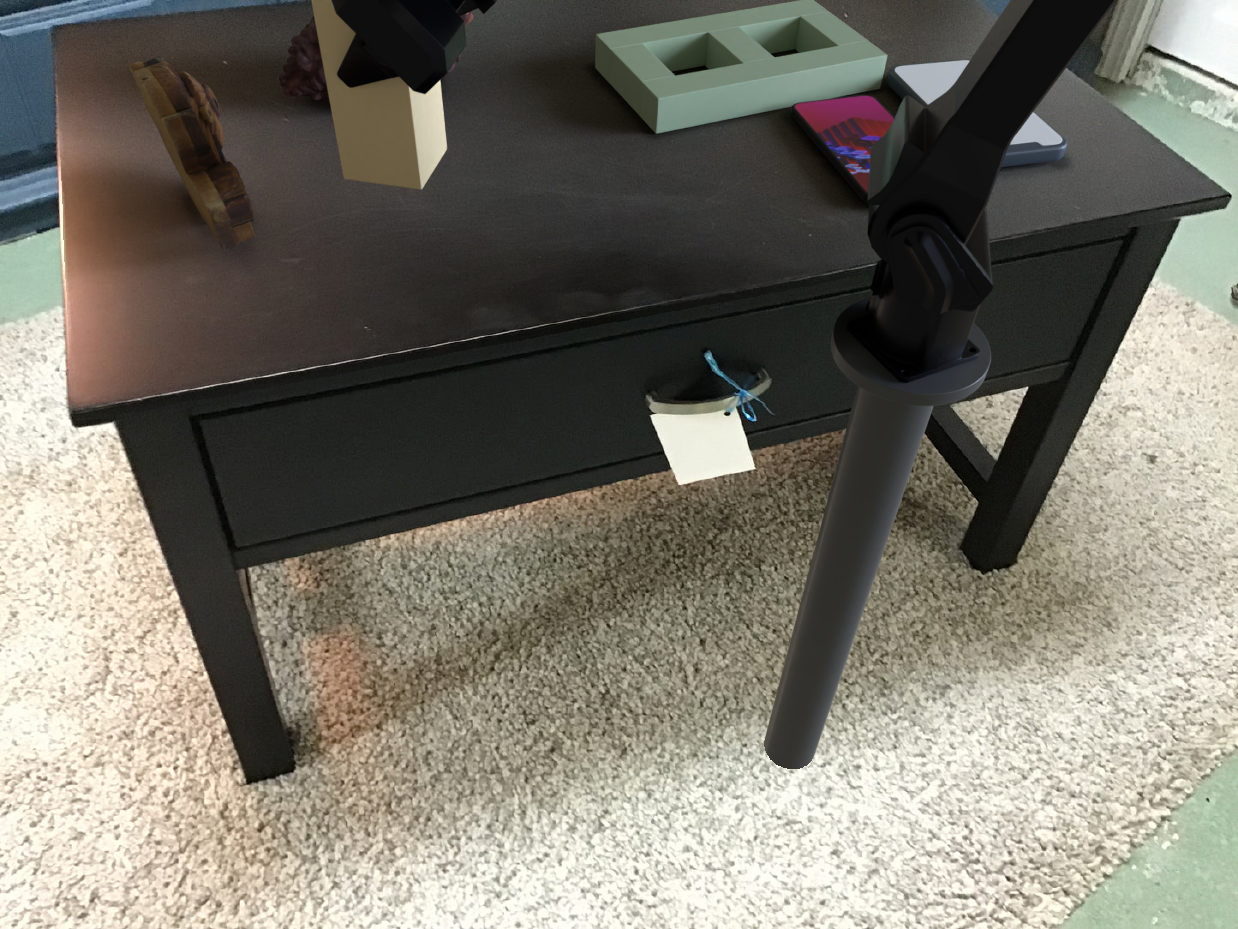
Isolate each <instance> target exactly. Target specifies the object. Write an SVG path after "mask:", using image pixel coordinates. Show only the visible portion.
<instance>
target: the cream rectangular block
mask: <svg viewBox="0 0 1238 929" xmlns="http://www.w3.org/2000/svg"><path fill="white" fill-rule="evenodd" d="M311 7H312V11H313V12H312V13H313V16H314V18H315V23H316V29H317V34H318V40H319V45H320V51H321V56H322V61H323V67H324V72H325V78H326V83H327V89H328V94H329V100H330V102H329V104H330V111H331V115H332V122H333V127H334V132H335V137H336V143H337V148H338V149H337V150H338V155H339V160H340V166H341V171H342V176H343V177H342V178H343V179H344V180H346V181H347V180H348V181H354V182H355V181H356V182H362V183H368V184H369V183H371V184H377V185H382V186H383V185H384V186H391V187H398V188H404V189H413V190H419V191H421V190H423V189H424V187H425V185H426V184H427V182H428V180H429V179H430V178H431V175H433V173H434V171H435V169H436V168H437V166H438V165H439V163H440V161H441V160H442V158H443V157H444V155H445V153H446V152H447V150H448V144H447V134H446V123H445V122H446V121H445V114H444V105H443V103H444V102H443V93H442V83H441V81H439V82H438V83H437V84H436V85H435V86H434V87H432V88H431V89H430V90H429V91H428V92H427V93H426V94H422V93H418V92H414V91H413V90H412V89H411V88H410V87H409V86H408V85H407V84H406V83H405V82H404V81H403V80H402V79H401V78H400V77H396V78H391V79H387V80H383V81H378V82H374V83H370V84H366V85H362V86H358V87H354V88H349V87H348V86H347V85H346V84H344V83H343V82H342V81H341V80H340V79H339V78H338V76H337V71H338V69H339V67H340V65H341V63H342V61H343V59H344V57H345V55H346V53H347V51H348V48H349V46H350V44H351V42H352V40H353V38H354V36H355V34H356V33H355V32H354V31H353V30H352V29H351V28H350V27H349V26H348V25H347V24H346V23H345V22H344V21H343V20H342V19H341V18H340V17H339V16H338V15H337V14H336V13H335V10H334V7H333V4H332V1H331V0H311Z"/></svg>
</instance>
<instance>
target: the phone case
mask: <svg viewBox="0 0 1238 929" xmlns="http://www.w3.org/2000/svg"><path fill="white" fill-rule="evenodd" d="M970 60H971V59H965V58H962V59H951V60H939V61H929V62H918V63H907V64H898V65H893V66H892V67H890V69H888V75H887V79H886V83H887V86H888V87H889V88H890V89H891V90H892V91H893V92H894V93H895V95H897V96H898V97H899V98H900V99H901V100H902V101H903V99H904V97H905V96H910V97H912V98H913V99H914V100H916V101H917V102H918V103H920V104H921V105H923V106H924V107H926V106H927V105H928V104H930V103H931V102H933V101H934V100H936V99H937V98H938V97H940V96H941V95H943V94H944V93H945V92H947V91H948V90H949V89H950V88H951V87H952V86H953V84H954V83H955V82H956V81H957V79H958V78H959V76H960V75H961V73H962V72H963V70H964V69H965V67H966V66H967V64H968V63H969V61H970ZM1067 147H1068V141H1067V139H1066V138H1065V137H1064V136H1063V135H1062V134H1061V133H1059V132H1058V130H1056V129H1055V128H1054V127H1052V126H1051V125H1050V124H1049V123H1048V122H1047V121H1046V120H1045V119H1043V118H1042V117H1041V116H1040V115H1039V114H1038V113H1036V112H1035V111H1034V112H1033V113H1032V114H1031V116H1030V117H1029V118H1028V120H1027V121H1026V122H1025V123H1024V125H1023V126H1022V127H1021V129H1020V130H1019V131H1018V133H1017V134H1016V135H1015V137H1014V138H1013V140H1012V141H1011V143H1010V145H1009V147H1008V150H1007V152H1006V155H1005V157H1004V160H1003V163H1002V166H1001V168H1006V167H1007V168H1008V167H1017V166H1022V165H1024V166H1025V165H1033V164H1041V163H1050V162H1056V161H1059V160H1061V159H1063V157H1064V155H1065V152H1066V149H1067Z"/></svg>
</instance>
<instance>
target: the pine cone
mask: <svg viewBox="0 0 1238 929" xmlns="http://www.w3.org/2000/svg"><path fill="white" fill-rule="evenodd" d="M460 17H461V18H462V19H463V20H464V21H465V27H466V26H467V25H469V24H470V23H471V22H472V21H473V20H474V17H475V15H473V11H471V12H468V13H466V14H464V15H461V16H460ZM290 43H291V45H290V46H289V48H288V49H287V52H288V54H289V56H288V57H286V60H285V61H286V63H284V64H283V66H282V71H280V72H279V74H278V81H279V82H278V85H279V87H281V88H283V94H285V96H287V97H288V98H289V99H291V100H293V99H296V98H297V97H300V96H302V97H304V98H305V97H309V98H310V99H311V100H312V101H319V100H321V99H323V100H324V101H326V102H328V103H330V100H329V94H328V89H327V83H326V78H325V72H324V67H323V61H322V56H321V51H320V45H319V40H318V34H317V29H316V23H315V18H314V15H313V16H312V17H311V19H310V22H309V23H306V24H305V26H304V28H303V29H301V30H300V33H299V34H298V35H293V36H292V38H291V39H290ZM461 56H462V53H461V54H460V55H459V57H458V58H457V60H456V61H455V63H454V64H453V65H452V67H451V68H450V70H449V71H448V73H447V74H449V73H451V72H453V71H454V69H455V66H456V63H459V61H460V60H461ZM441 80H442V79H441ZM441 80H440V82H441Z"/></svg>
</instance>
